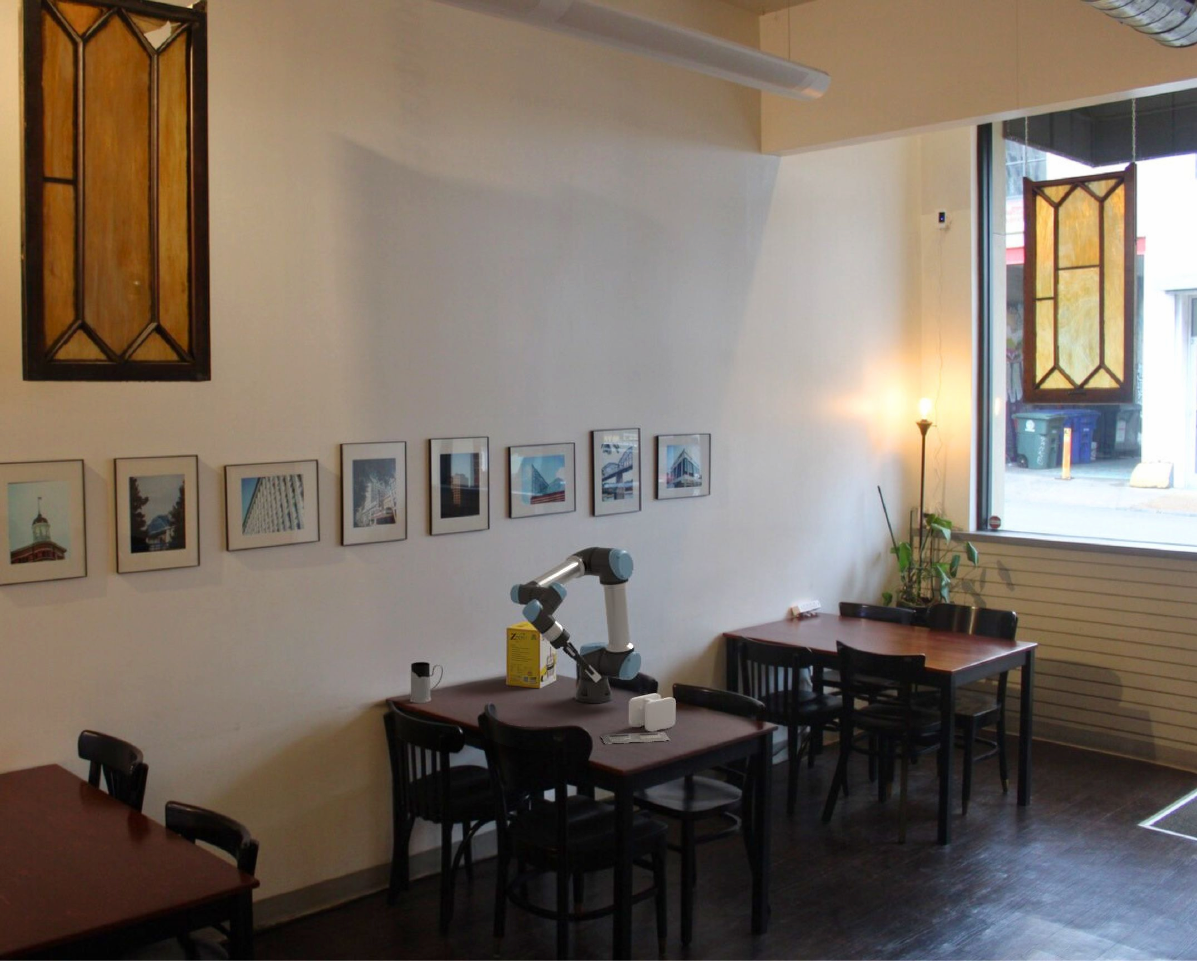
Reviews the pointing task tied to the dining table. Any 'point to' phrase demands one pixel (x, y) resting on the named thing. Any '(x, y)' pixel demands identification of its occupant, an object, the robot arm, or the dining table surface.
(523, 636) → the packaging box
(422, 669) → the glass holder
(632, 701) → the cable organizer
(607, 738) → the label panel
